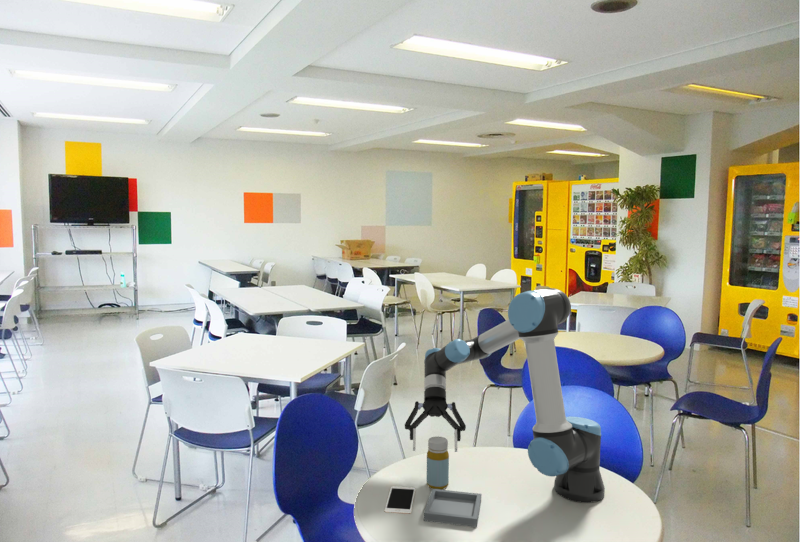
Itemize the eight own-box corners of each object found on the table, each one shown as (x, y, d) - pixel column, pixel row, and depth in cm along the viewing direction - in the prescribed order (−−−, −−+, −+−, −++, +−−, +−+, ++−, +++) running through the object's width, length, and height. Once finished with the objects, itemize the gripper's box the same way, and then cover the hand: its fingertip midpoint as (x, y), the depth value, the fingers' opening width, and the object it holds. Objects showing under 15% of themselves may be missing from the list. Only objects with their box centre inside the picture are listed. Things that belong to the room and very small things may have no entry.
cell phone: (384, 513, 169) (384, 511, 169) (391, 488, 185) (391, 486, 185) (410, 515, 169) (410, 513, 169) (415, 489, 184) (415, 487, 184)
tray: (481, 501, 176) (481, 493, 176) (476, 527, 161) (477, 519, 161) (432, 496, 179) (432, 488, 179) (423, 520, 165) (423, 512, 164)
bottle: (449, 490, 183) (449, 444, 181) (426, 490, 183) (427, 444, 182) (447, 480, 190) (448, 436, 188) (426, 480, 190) (426, 435, 188)
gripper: (470, 396, 205) (472, 455, 191) (399, 394, 206) (397, 453, 192) (471, 386, 199) (474, 446, 185) (398, 384, 200) (396, 444, 186)
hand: (435, 449), depth 189 cm, fingers open, 13 cm apart
